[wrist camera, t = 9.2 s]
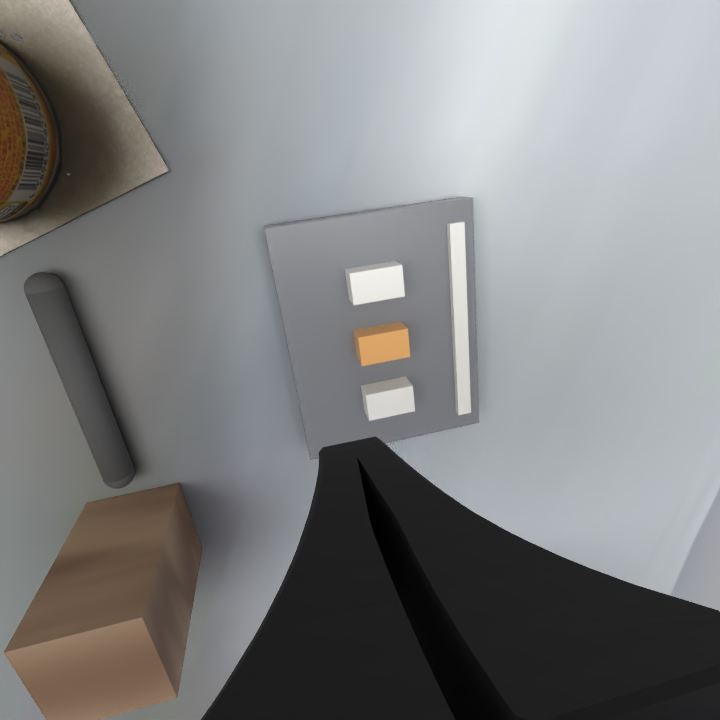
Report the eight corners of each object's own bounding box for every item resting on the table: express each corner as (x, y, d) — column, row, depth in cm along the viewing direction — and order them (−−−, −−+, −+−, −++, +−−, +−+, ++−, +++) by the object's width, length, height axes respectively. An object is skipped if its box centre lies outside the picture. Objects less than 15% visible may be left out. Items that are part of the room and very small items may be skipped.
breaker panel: (468, 410, 22) (488, 433, 20) (307, 445, 21) (312, 472, 19) (460, 197, 18) (484, 198, 16) (264, 225, 17) (264, 230, 15)
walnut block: (202, 548, 22) (177, 697, 16) (116, 569, 21) (54, 732, 15) (179, 482, 20) (142, 617, 14) (87, 502, 20) (4, 652, 14)
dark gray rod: (141, 473, 20) (134, 490, 19) (112, 479, 20) (103, 497, 19) (63, 267, 16) (49, 273, 15) (28, 272, 16) (11, 278, 15)
